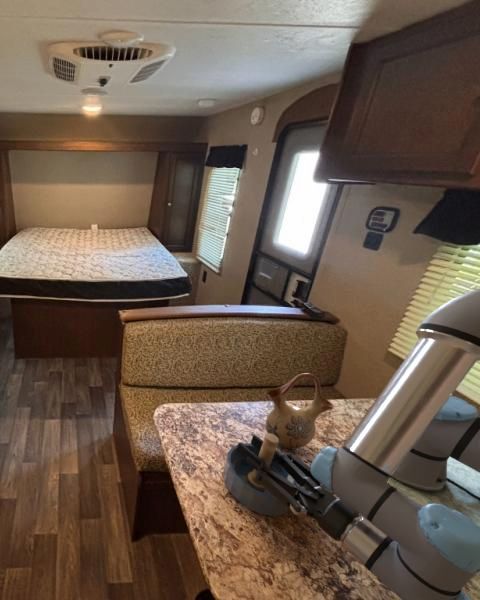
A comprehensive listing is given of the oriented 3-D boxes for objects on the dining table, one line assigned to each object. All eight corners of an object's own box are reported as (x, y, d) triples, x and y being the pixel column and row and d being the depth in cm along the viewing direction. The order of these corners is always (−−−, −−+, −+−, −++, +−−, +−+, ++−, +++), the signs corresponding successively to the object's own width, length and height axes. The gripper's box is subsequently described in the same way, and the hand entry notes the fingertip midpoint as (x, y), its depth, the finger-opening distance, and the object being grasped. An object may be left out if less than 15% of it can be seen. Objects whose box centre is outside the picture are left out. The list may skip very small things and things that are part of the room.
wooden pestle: (265, 481, 81) (282, 435, 75) (265, 496, 77) (283, 448, 71) (246, 474, 83) (261, 428, 77) (245, 487, 79) (261, 440, 73)
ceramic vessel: (256, 448, 92) (280, 377, 82) (250, 426, 100) (271, 359, 90) (321, 462, 88) (353, 390, 78) (309, 438, 96) (337, 369, 86)
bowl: (288, 476, 83) (296, 459, 81) (292, 531, 71) (301, 512, 68) (225, 451, 90) (230, 435, 88) (218, 497, 78) (224, 479, 75)
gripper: (318, 563, 60) (218, 466, 79) (365, 520, 67) (264, 441, 86) (331, 538, 57) (224, 444, 76) (379, 496, 64) (271, 420, 83)
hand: (245, 442), depth 81 cm, fingers open, 5 cm apart
